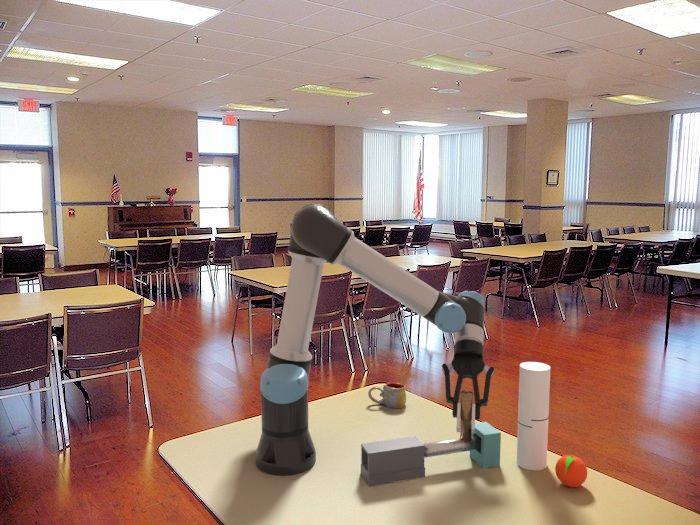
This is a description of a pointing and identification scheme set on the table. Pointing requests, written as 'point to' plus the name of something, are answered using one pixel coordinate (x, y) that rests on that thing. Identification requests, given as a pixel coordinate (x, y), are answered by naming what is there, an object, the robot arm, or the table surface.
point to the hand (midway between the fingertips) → (465, 430)
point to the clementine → (571, 471)
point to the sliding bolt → (466, 439)
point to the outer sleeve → (392, 460)
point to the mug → (391, 395)
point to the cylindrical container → (533, 415)
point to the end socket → (487, 445)
